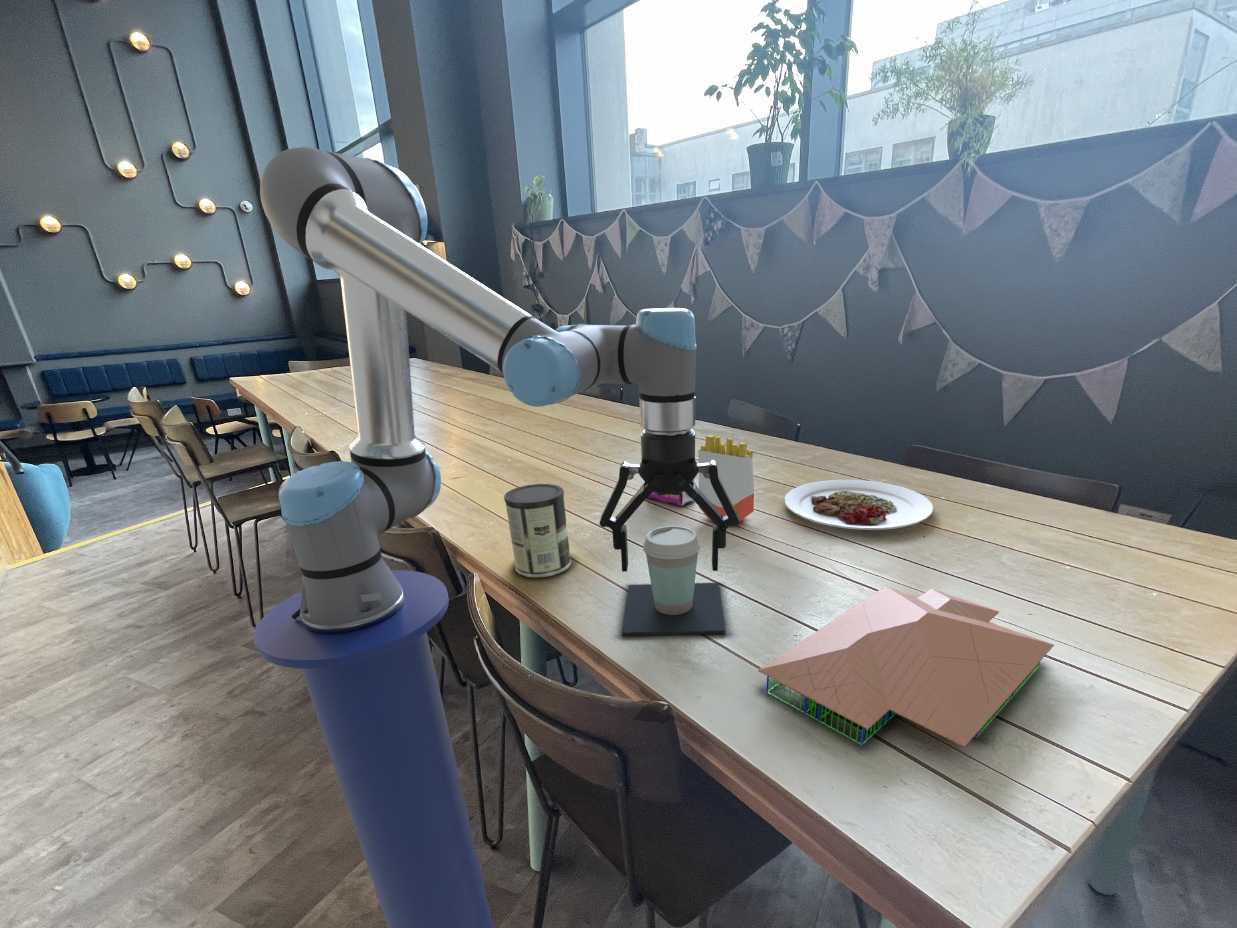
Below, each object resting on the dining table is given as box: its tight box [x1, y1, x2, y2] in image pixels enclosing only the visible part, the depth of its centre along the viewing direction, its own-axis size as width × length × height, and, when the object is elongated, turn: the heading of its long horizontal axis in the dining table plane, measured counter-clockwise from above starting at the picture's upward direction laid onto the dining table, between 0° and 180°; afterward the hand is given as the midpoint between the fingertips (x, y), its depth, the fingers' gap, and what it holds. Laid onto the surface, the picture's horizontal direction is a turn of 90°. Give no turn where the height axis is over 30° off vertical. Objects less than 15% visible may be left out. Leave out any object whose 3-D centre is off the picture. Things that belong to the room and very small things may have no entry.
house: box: [757, 585, 1055, 748], centre depth 76 cm, size 23×33×8 cm
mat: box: [621, 582, 726, 637], centre depth 96 cm, size 15×15×1 cm
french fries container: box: [697, 434, 755, 522], centre depth 125 cm, size 5×11×18 cm, turn 50°
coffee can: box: [503, 483, 572, 579], centre depth 109 cm, size 10×10×14 cm
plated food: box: [784, 479, 934, 531], centre depth 131 cm, size 30×30×3 cm
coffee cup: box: [642, 525, 701, 615], centre depth 93 cm, size 8×8×12 cm
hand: (669, 567), depth 93 cm, fingers open, 13 cm apart
